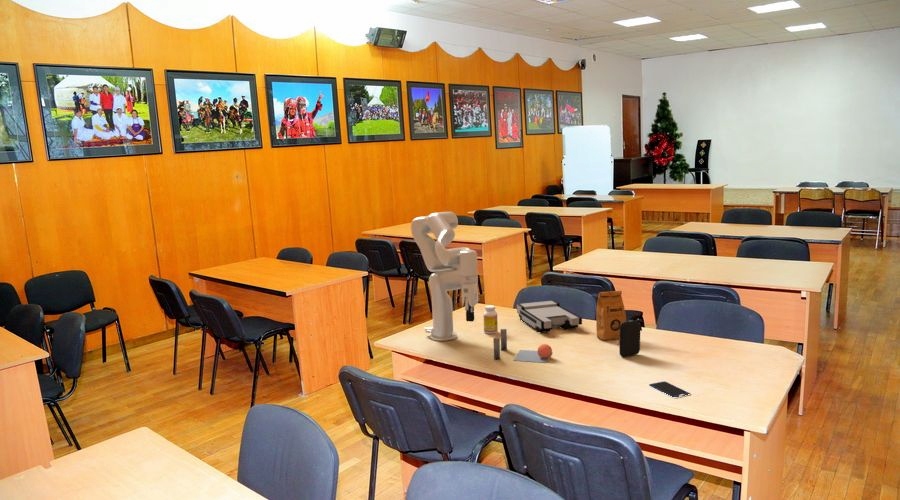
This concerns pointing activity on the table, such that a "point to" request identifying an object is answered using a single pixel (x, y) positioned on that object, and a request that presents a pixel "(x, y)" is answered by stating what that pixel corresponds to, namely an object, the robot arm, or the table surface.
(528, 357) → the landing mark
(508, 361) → the table surface
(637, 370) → the table surface
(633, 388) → the table surface
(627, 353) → the carrying case or bag
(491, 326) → the supplement bottle
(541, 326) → the game console
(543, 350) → the ball
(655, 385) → the cell phone
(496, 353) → the post
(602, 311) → the coffee package
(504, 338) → the post
